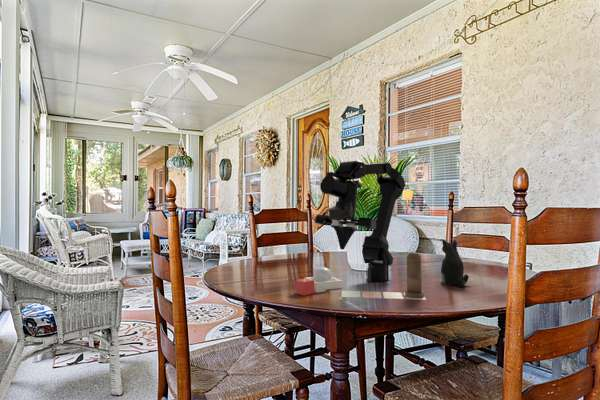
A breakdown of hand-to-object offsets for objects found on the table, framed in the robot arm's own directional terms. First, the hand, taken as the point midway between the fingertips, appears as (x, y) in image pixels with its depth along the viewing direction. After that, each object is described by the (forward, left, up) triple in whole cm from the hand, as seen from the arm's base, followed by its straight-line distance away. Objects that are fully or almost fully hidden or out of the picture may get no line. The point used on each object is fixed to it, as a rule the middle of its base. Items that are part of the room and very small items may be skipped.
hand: (342, 249), depth 119 cm
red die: (+12, -2, -13) cm, 18 cm away
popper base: (+4, -6, -13) cm, 15 cm away
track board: (-7, +11, -13) cm, 19 cm away
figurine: (-38, +7, -13) cm, 41 cm away
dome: (+4, -6, -12) cm, 14 cm away
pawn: (-15, +16, -12) cm, 25 cm away
